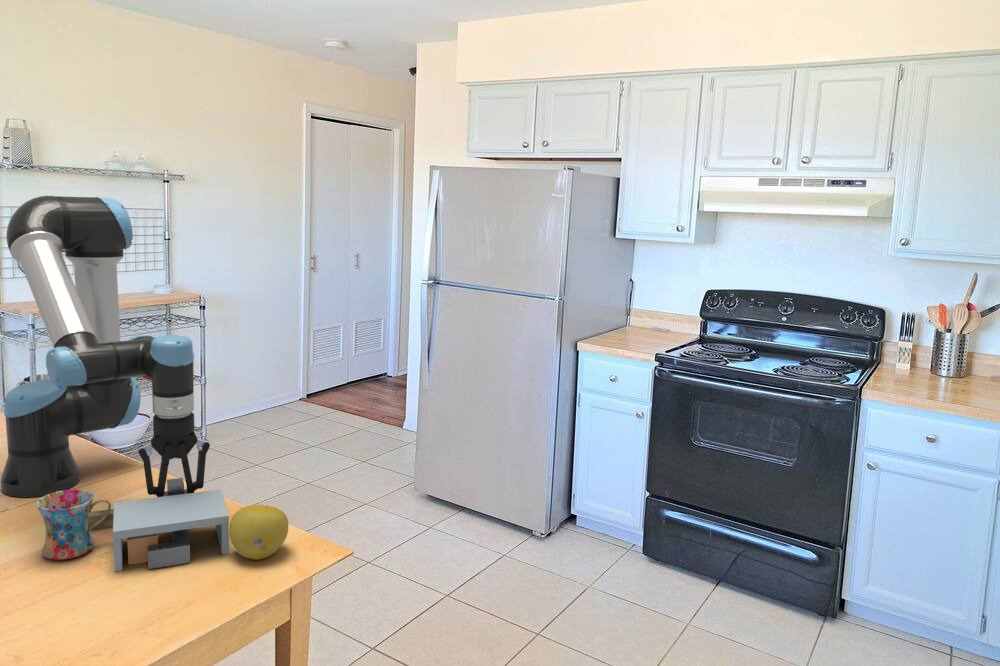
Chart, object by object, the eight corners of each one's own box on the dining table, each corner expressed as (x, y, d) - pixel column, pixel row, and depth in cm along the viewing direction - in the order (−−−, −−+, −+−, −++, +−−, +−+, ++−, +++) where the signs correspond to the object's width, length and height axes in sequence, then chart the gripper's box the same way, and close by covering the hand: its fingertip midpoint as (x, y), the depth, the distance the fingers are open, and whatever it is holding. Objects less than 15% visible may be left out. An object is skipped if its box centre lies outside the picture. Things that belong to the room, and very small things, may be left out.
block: (128, 552, 137) (127, 528, 136) (157, 548, 140) (156, 524, 139) (128, 565, 133) (127, 539, 132) (158, 560, 135) (157, 535, 134)
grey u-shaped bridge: (115, 540, 141) (114, 502, 140) (221, 525, 150) (220, 489, 148) (114, 573, 130) (113, 531, 128) (229, 554, 139) (228, 515, 137)
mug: (40, 568, 130) (37, 513, 128) (37, 547, 137) (34, 494, 135) (115, 553, 137) (113, 500, 135) (109, 533, 144) (106, 483, 142)
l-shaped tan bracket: (65, 534, 142) (63, 501, 141) (66, 528, 145) (64, 495, 144) (122, 526, 147) (121, 494, 146) (122, 520, 150) (121, 488, 148)
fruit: (294, 559, 138) (295, 510, 136) (236, 572, 133) (235, 521, 131) (280, 537, 147) (280, 490, 145) (224, 547, 141) (223, 500, 139)
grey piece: (144, 523, 148) (143, 482, 146) (183, 518, 151) (182, 477, 150) (148, 569, 131) (146, 523, 130) (191, 562, 135) (191, 517, 133)
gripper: (128, 422, 137) (132, 536, 142) (218, 415, 145) (220, 524, 149) (128, 411, 144) (132, 520, 148) (214, 404, 151) (215, 509, 156)
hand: (176, 522), depth 149 cm, fingers closed on grey piece, 3 cm apart
